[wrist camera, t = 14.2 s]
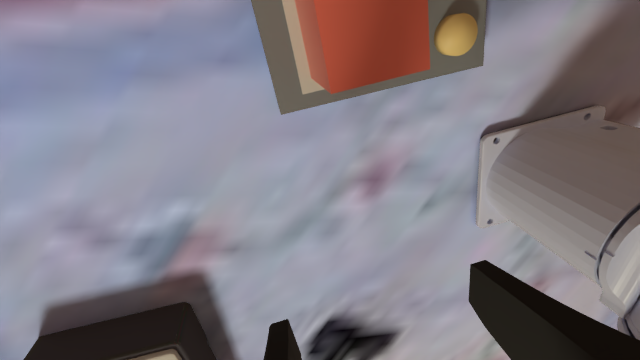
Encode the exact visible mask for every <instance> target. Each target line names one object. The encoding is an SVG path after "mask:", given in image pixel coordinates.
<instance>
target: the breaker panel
mask: <svg viewBox="0 0 640 360" xmlns="http://www.w3.org/2000/svg"><path fill="white" fill-rule="evenodd" d="M251 2H252V6H253V9H254V13H255V17H256V21H257V25H258V29H259V32H260V36H261V40H262V44H263V48H264V51H265V55H266V59H267V63H268V67H269V71H270V74H271V78H272V82H273V86H274V90H275V93H276V97H277V101H278V105H279V109H280V113H281V115H282V114H286V113H290V112H294V111H298V110H302V109H306V108H311V107H315V106H319V105H323V104H327V103H331V102H335V101H339V100H343V99H348V98H352V97H356V96H360V95H364V94H368V93H372V92H376V91H380V90H384V89H389V88H393V87H397V86H401V85H405V84H409V83H413V82H417V81H421V80H426V79H430V78H434V77H438V76H442V75H446V74H450V73H454V72H458V71H463V70H467V69H471V68H475V67H479V66H483V58H484V39H485V20H486V2H487V0H428V18H429V47H430V69H429V70H425V71H421V72H417V73H413V74H409V75H405V76H401V77H397V78H393V79H389V80H385V81H381V82H377V83H373V84H369V85H365V86H361V87H357V88H353V89H350V90H346V91H342V92H338V93H334V94H330V93H329V92H328V91H327V90H325V89H324V88H323V87H322V86H320V85H319V84H318V83H317V82H315V81H314V80H313V79H312V78H311V75H310V70H309V65H308V61H307V56H306V51H305V46H304V42H303V37H302V32H301V28H300V23H299V18H298V13H297V9H296V4H295V0H251Z"/></svg>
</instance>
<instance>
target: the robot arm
mask: <svg viewBox="0 0 640 360" xmlns="http://www.w3.org/2000/svg"><path fill="white" fill-rule="evenodd" d="M605 113H606V108H605V107H604V106H600V105H597V106H593V107H589V108H585V109H581V110H578V111H574V112H570V113H566V114H562V115H559V116H555V117H551V118H547V119H543V120H539V121H536V122H532V123H528V124H524V125H520V126H516V127H513V128H509V129H505V130H501V131H497V132H494V133H490V134H486V135H484V136H483V137H482V139H481V141H480V153H479V172H478V190H477V208H476V225H477V226H478V227H479V228H486V227H489V226H493V225H496V224H500V223H503V222H507V221H511V222H512V223H514V224H515V225H517V226H518V227H519V228H521V229H522V230H523V231H525V232H526V233H527V234H529V235H530V236H532V237H533V238H534V239H536V240H537V241H538V242H540V243H541V244H543V245H544V246H545V247H547V248H548V249H549V250H551V251H552V252H553V253H555V254H556V255H558V256H559V257H560V258H562V259H563V260H564V261H566V262H567V263H568V264H570V265H571V266H573V267H574V268H575V269H577V270H578V271H579V272H581V273H582V274H583V275H585V276H586V277H588V278H589V279H590V280H592V281H593V282H594V283H596V284H597V285H598V286H600V287H601V288H602V294H601V297H600V299H599V301H600V302H601V303H603V304H604V305H605V306H607V307H608V308H609V309H610V310H612V311H613V312H614V313H616V314H617V315H618V316H619V318H618V322H617V328H618V330H615V329H613V328H611V327H609V326H607V325H604V324H602V323H600V322H598V321H596V320H594V319H592V318H590V317H588V316H586V315H584V314H582V313H580V312H578V311H576V310H574V309H572V308H570V307H568V306H566V305H564V304H562V303H560V302H558V301H557V300H555V299H553V298H551V297H549V296H547V295H545V294H544V293H542V292H540V291H538V290H536V289H535V288H533V287H531V286H529V285H528V284H526V283H524V282H522V281H521V280H519V279H517V278H515V277H514V276H512V275H510V274H509V273H507V272H505V271H503V270H502V269H500V268H498V267H497V266H495V265H493V264H491V263H490V262H488V261H486V260H484V261H480V262H477V263H474V264H471V267H470V287H469V302H470V304H471V305H472V307H473V309H474V310H475V312H476V314H477V315H478V317H479V318H480V320H481V321H482V323H483V324H484V326H485V327H486V329H487V330H488V331H489V332H490V334H491V335H492V336H493V337H494V339H495V340H496V341H497V343H498V344H499V345H500V346H501V348H502V349H503V350H504V351H505V353H506V354H507V355H508V356H509V357H510V359H511V360H640V128H636V127H632V126H628V125H624V124H620V123H615V122H611V121H607V120H604V117H605ZM495 138H496V140H495V141H494V142H493V140H494V139H495ZM488 220H489V221H488ZM264 360H302V358H301V353H300V350H299V347H298V345H297V342H296V339H295V337H294V334H293V331H292V329H291V326H290V323H289V321H288V319H286V320H283V321H280V322H276V323H273V324H271V326H270V327H269V334H268V340H267V346H266V351H265V356H264Z"/></svg>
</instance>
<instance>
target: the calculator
mask: <svg viewBox="0 0 640 360" xmlns="http://www.w3.org/2000/svg"><path fill="white" fill-rule="evenodd" d="M24 360H216V358H215V356H214V355H213V353H212V351H211V349H210V347H209V345H208V343H207V339H206V336H205V333H204V331H203V329H202V327H201V325H200V323H199V321H198V319H197V317H196V315H195V313H194V311H193V309H192V307H191V305H190V304H189V303H186V302H183V303H178V304H174V305H170V306H166V307H161V308H157V309H153V310H149V311H145V312H140V313H136V314H132V315H128V316H124V317H120V318H115V319H111V320H107V321H103V322H99V323H94V324H90V325H86V326H82V327H78V328H74V329H69V330H65V331H61V332H57V333H53V334H48V335H44V336H41V337H39V338H38V340H37V341H36V342H35V344H34V345H33V347H32V348H31V350H30V351H29V353H28V354H27V356H26V357H25V359H24Z"/></svg>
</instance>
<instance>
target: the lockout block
mask: <svg viewBox="0 0 640 360" xmlns="http://www.w3.org/2000/svg"><path fill="white" fill-rule="evenodd" d="M295 4H296V9H297V13H298V18H299V23H300V28H301V32H302V37H303V42H304V46H305V51H306V56H307V61H308V65H309V70H310V75H311V78H312V79H313V80H314V81H315V82H317V83H318V84H319V85H320V86H322V87H323V88H324V89H325V90H327V91H328V92H329V93H330V94H334V93H338V92H342V91H346V90H350V89H353V88H357V87H361V86H365V85H369V84H373V83H377V82H381V81H385V80H389V79H393V78H397V77H401V76H405V75H409V74H413V73H417V72H421V71H425V70H429V69H430V47H429V18H428V0H295Z"/></svg>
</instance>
